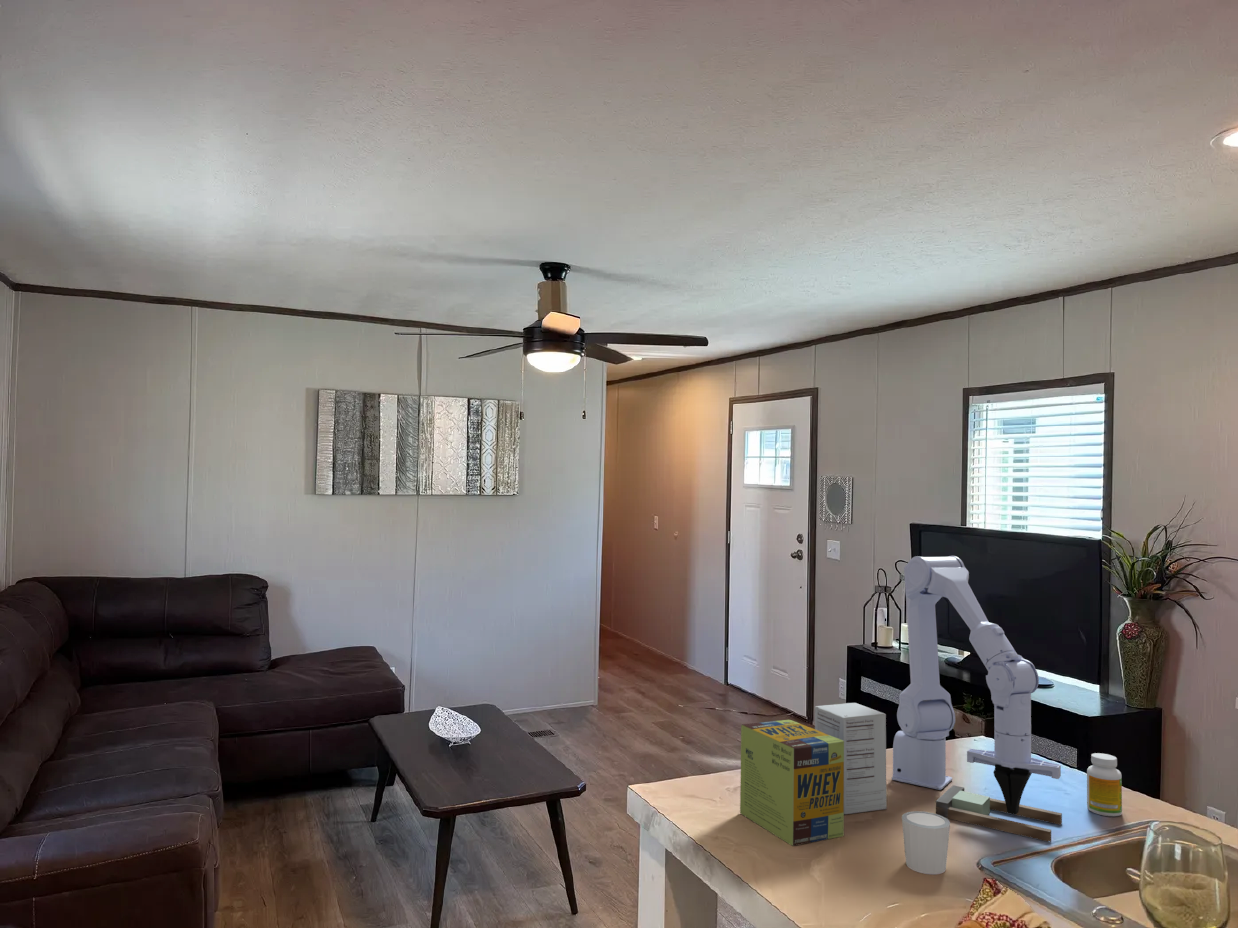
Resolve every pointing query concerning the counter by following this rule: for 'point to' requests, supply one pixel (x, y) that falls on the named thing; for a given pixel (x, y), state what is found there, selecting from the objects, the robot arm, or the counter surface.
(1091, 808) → the supplement bottle
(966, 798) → the block
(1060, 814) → the guide channel
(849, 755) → the supplement box
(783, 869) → the counter surface
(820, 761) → the protein box
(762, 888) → the counter surface
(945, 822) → the white cup
